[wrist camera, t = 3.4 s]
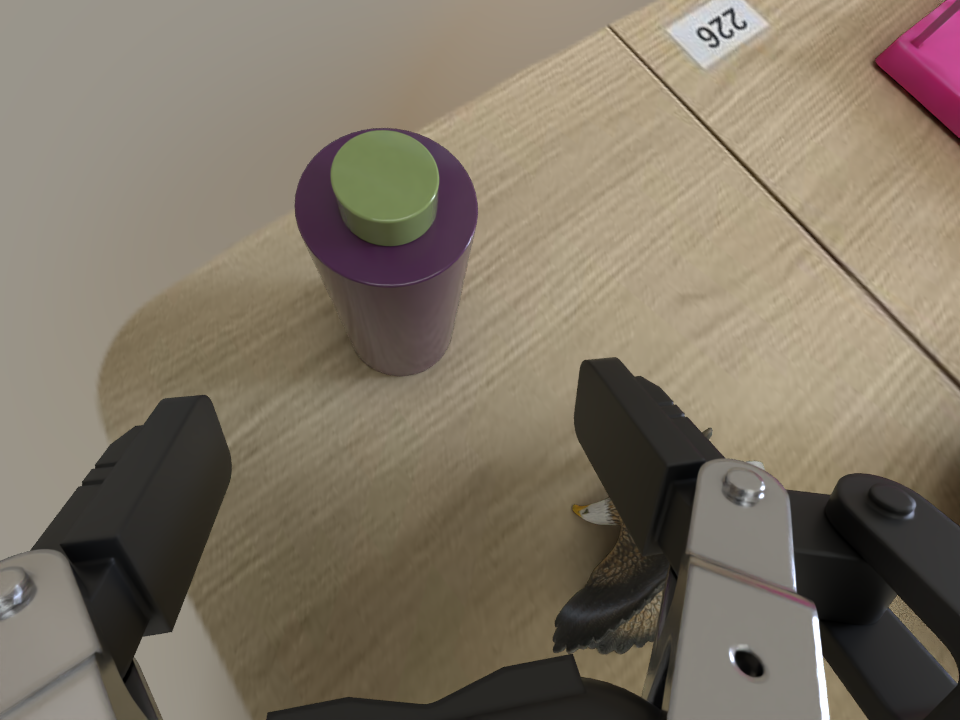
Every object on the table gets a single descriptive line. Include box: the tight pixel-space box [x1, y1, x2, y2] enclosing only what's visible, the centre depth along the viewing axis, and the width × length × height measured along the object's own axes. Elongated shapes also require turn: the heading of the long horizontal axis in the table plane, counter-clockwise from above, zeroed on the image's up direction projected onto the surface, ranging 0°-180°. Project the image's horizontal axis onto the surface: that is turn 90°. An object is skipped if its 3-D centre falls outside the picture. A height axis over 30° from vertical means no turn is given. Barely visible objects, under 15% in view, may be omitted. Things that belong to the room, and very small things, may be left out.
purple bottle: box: [295, 128, 478, 376], centre depth 17 cm, size 5×5×11 cm
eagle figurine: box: [553, 428, 765, 655], centre depth 18 cm, size 8×7×9 cm
